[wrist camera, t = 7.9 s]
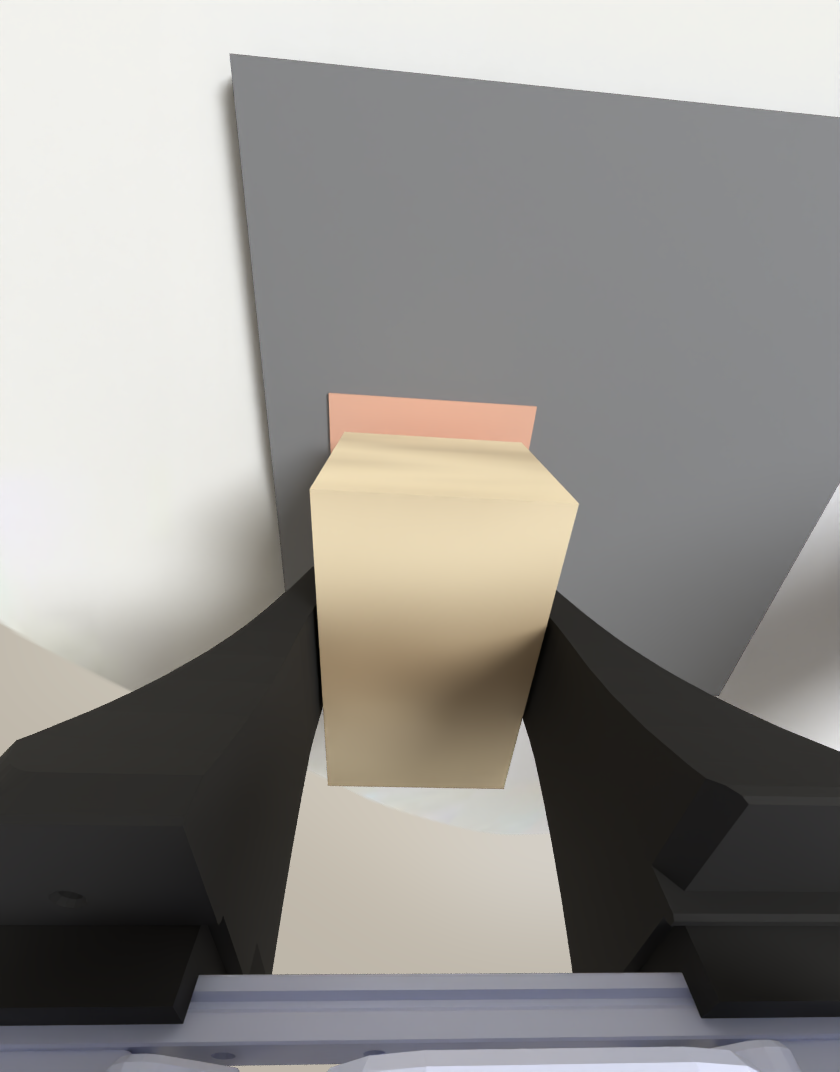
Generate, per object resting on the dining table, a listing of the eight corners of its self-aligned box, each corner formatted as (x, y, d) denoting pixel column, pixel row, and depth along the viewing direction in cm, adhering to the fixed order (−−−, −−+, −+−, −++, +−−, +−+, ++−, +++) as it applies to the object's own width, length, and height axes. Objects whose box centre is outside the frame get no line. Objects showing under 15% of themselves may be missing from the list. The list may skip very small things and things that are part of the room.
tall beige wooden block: (480, 671, 14) (503, 788, 11) (349, 667, 14) (327, 785, 10) (521, 442, 10) (578, 504, 7) (344, 431, 10) (309, 488, 7)
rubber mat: (1005, 147, 9) (1041, 136, 9) (710, 686, 17) (720, 697, 17) (238, 67, 8) (227, 50, 8) (298, 673, 16) (294, 685, 16)
